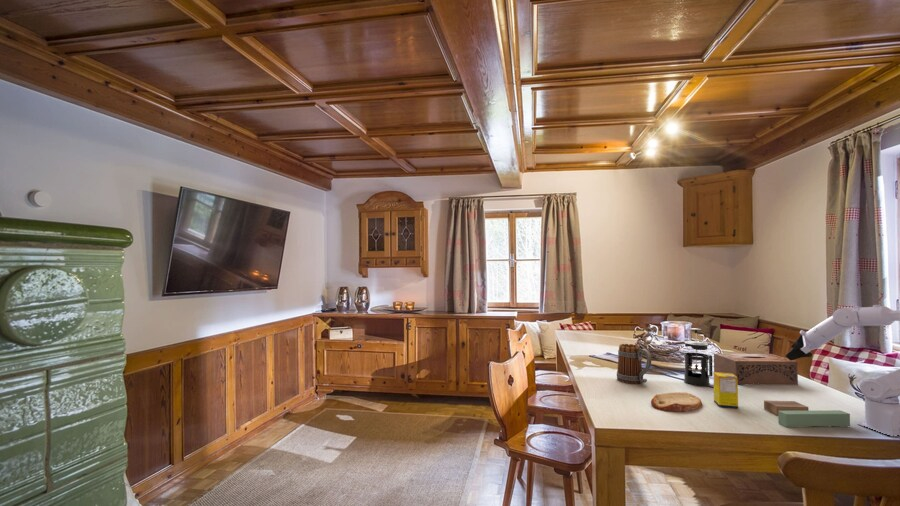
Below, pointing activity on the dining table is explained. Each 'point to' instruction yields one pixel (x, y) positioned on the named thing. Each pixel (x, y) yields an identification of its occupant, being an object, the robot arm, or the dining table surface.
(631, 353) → the mug
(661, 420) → the dining table surface
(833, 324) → the robot arm
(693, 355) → the french press
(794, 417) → the rail
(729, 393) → the supplement box
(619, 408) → the dining table surface
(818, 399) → the dining table surface
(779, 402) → the slab
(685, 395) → the bread slice
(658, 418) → the dining table surface
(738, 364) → the tissue box cover
